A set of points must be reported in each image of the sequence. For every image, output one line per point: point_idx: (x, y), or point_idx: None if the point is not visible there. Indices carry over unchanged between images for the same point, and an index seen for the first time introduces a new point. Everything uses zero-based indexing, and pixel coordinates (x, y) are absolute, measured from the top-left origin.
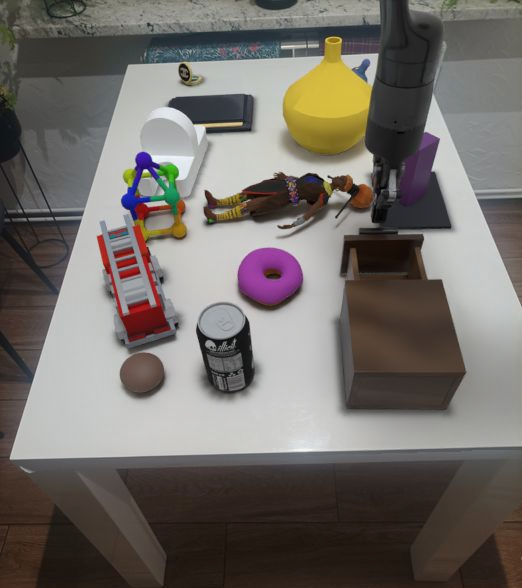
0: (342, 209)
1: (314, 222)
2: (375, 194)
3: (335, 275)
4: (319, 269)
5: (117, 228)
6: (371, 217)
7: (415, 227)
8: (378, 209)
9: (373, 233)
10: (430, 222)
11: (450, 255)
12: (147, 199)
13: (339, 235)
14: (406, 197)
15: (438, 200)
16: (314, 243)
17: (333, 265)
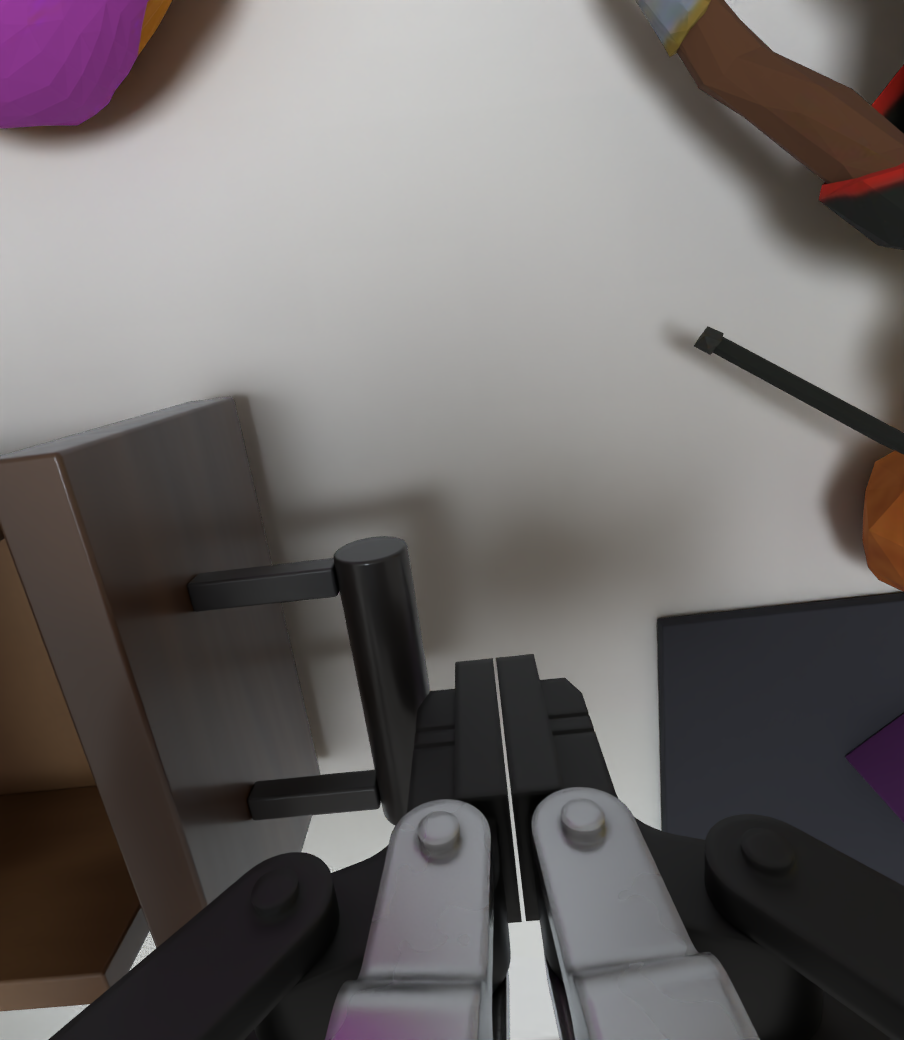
0: (783, 386)
1: (744, 169)
2: (452, 909)
3: (221, 369)
4: (252, 257)
5: None
6: (487, 668)
7: (663, 791)
8: (409, 808)
9: (354, 662)
10: None
11: None
12: None
13: (599, 372)
14: (895, 792)
15: None
16: (507, 193)
17: (307, 350)
